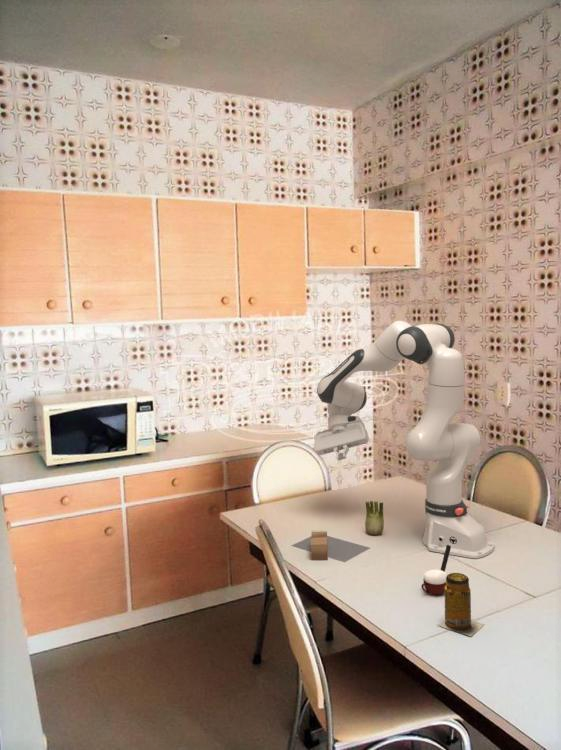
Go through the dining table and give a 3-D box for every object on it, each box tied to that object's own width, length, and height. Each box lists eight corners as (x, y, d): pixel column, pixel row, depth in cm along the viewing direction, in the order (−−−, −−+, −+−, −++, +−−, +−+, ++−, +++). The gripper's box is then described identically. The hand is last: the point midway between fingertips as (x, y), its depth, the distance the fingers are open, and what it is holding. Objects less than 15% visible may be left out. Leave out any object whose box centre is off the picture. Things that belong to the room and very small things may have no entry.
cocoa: (423, 599, 160) (421, 557, 158) (417, 588, 166) (414, 547, 164) (458, 596, 160) (456, 553, 159) (451, 584, 166) (449, 543, 165)
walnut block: (311, 530, 198) (310, 544, 186) (326, 530, 198) (327, 544, 186) (312, 545, 198) (311, 560, 186) (327, 545, 198) (327, 560, 186)
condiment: (452, 614, 151) (451, 568, 150) (484, 625, 145) (484, 577, 144) (437, 626, 146) (436, 578, 144) (470, 637, 140) (470, 588, 139)
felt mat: (370, 549, 194) (370, 547, 194) (344, 563, 184) (344, 562, 184) (318, 534, 209) (317, 533, 209) (291, 546, 199) (291, 545, 199)
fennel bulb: (385, 534, 206) (384, 500, 205) (378, 539, 203) (377, 504, 201) (370, 531, 210) (369, 497, 209) (363, 535, 206) (362, 501, 205)
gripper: (310, 429, 224) (311, 461, 215) (362, 414, 216) (365, 447, 207) (317, 437, 228) (318, 469, 219) (368, 424, 220) (371, 456, 211)
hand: (341, 458), depth 213 cm, fingers closed
